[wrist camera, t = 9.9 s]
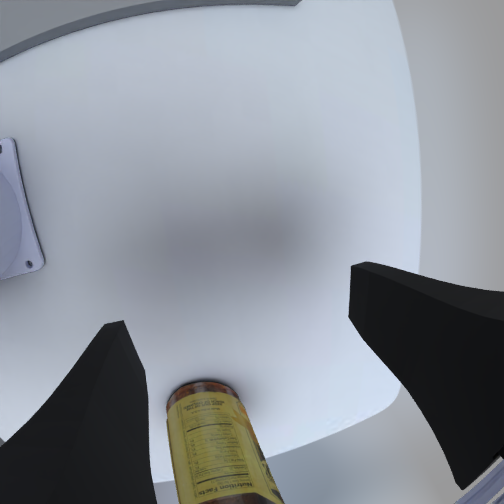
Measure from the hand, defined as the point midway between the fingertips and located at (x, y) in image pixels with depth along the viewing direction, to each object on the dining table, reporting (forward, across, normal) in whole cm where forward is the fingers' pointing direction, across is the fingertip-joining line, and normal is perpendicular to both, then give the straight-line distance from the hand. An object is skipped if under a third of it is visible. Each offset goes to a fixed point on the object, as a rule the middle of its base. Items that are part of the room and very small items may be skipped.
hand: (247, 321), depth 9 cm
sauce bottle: (+10, +3, +14) cm, 17 cm away
